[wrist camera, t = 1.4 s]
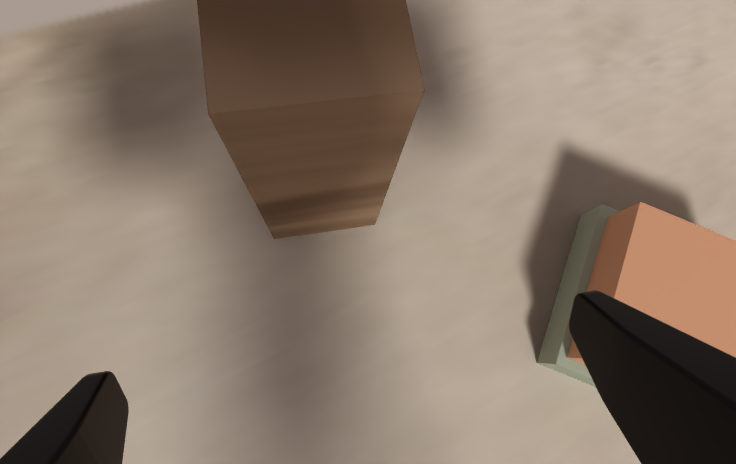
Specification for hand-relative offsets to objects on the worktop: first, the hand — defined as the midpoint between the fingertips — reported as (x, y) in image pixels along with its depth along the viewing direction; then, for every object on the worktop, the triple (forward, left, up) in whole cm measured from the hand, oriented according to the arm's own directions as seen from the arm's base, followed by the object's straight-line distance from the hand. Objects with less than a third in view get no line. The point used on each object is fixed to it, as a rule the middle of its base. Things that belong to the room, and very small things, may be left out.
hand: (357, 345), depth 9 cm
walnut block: (+7, +3, -14) cm, 16 cm away
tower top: (+5, -13, -12) cm, 19 cm away
